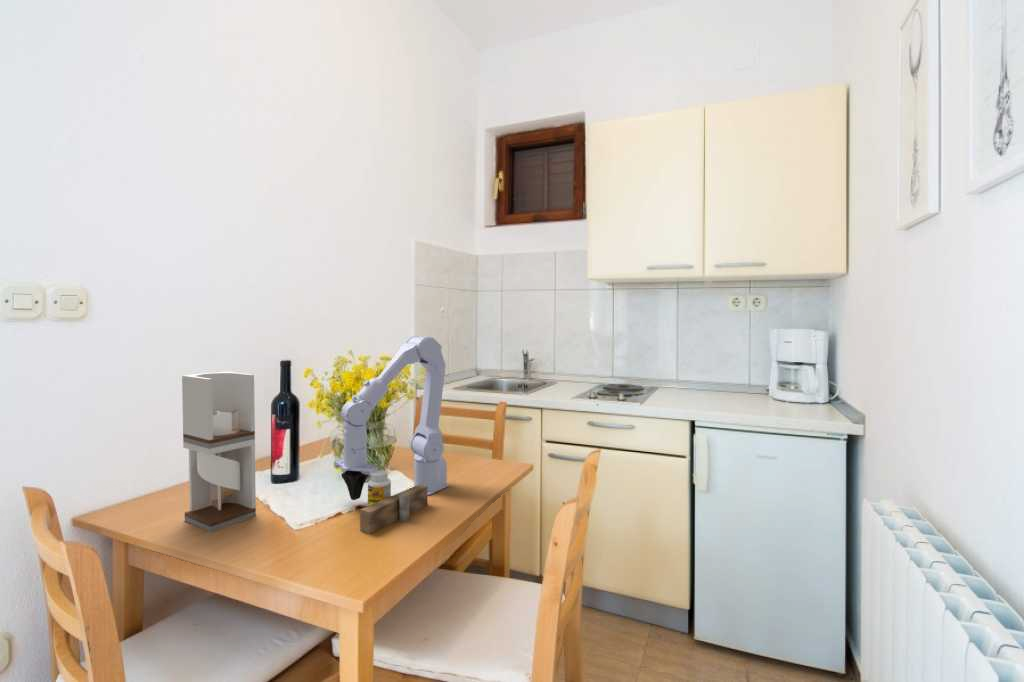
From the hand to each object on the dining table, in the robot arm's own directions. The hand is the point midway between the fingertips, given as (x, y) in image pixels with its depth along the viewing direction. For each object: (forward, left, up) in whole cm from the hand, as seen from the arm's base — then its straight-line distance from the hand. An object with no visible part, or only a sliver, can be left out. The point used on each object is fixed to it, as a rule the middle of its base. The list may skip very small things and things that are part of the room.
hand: (355, 498), depth 125 cm
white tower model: (+23, -21, -2) cm, 31 cm away
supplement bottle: (0, +9, -2) cm, 9 cm away
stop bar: (0, +16, -2) cm, 16 cm away
